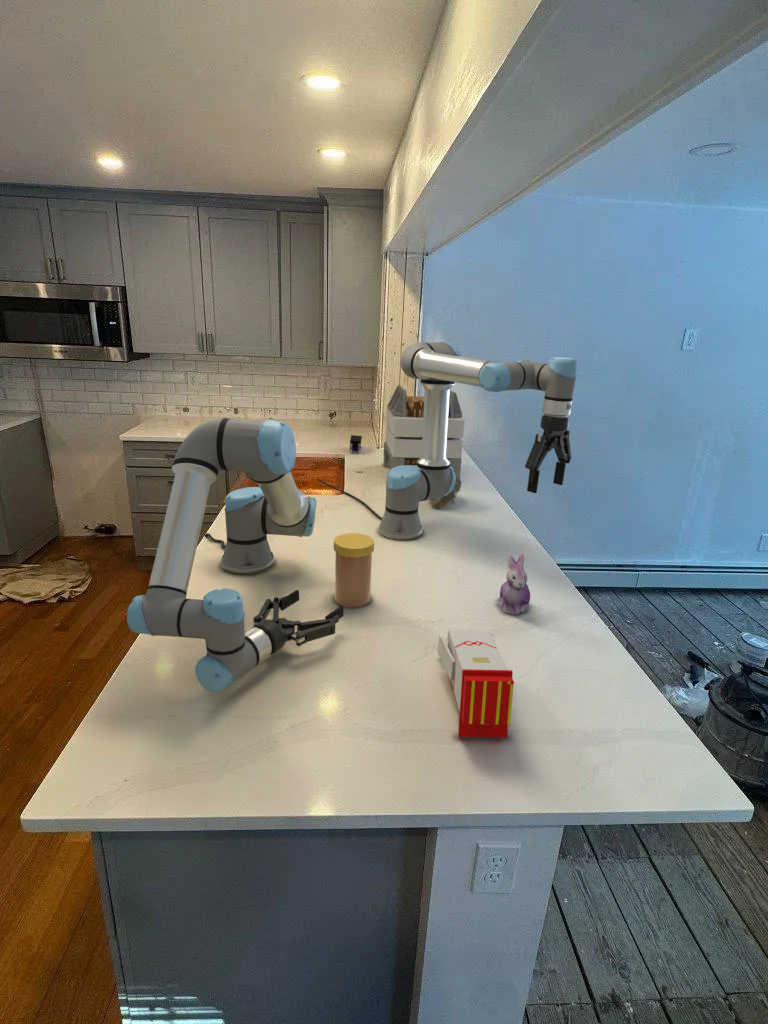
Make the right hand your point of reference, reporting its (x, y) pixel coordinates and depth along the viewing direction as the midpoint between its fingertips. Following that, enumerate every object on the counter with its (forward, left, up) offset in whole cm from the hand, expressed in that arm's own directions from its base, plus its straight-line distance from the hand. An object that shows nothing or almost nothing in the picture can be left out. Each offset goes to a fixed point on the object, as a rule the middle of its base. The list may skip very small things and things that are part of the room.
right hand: (545, 487), depth 165 cm
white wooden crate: (-100, +48, -28) cm, 115 cm away
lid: (-20, -55, -11) cm, 59 cm away
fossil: (-63, +27, -28) cm, 74 cm away
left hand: (-15, -69, -22) cm, 74 cm away
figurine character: (-151, +49, -28) cm, 161 cm away
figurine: (+10, -22, -28) cm, 37 cm away
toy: (+27, -59, -28) cm, 71 cm away
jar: (-20, -55, -28) cm, 64 cm away
